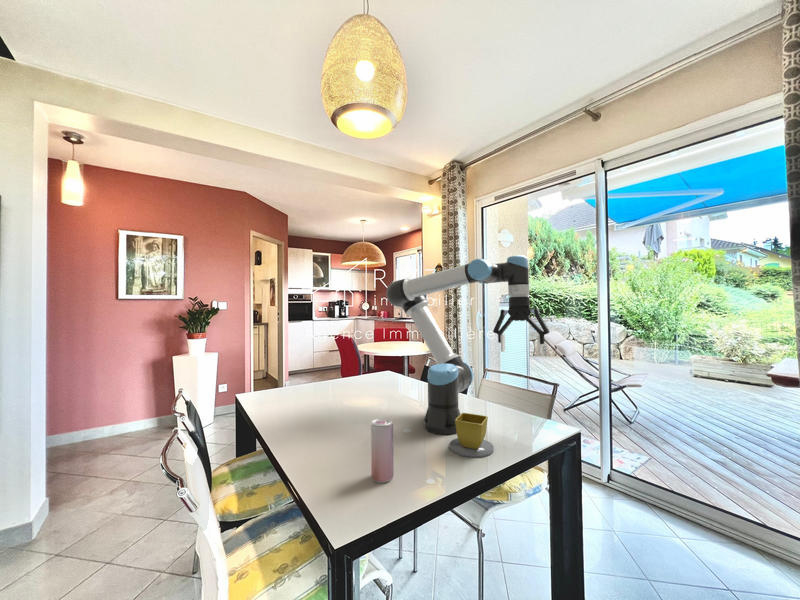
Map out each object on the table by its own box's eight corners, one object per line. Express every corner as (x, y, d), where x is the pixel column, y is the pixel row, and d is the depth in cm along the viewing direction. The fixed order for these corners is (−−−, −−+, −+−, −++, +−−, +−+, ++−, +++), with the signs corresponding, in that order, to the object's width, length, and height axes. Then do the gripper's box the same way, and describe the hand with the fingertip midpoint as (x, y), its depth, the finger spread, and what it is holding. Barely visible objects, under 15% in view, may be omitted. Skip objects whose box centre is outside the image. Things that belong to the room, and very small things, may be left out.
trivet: (442, 450, 103) (442, 448, 103) (460, 436, 115) (460, 434, 115) (485, 461, 96) (485, 459, 96) (499, 445, 107) (499, 442, 107)
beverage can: (371, 473, 89) (371, 418, 90) (392, 471, 90) (392, 417, 90) (371, 484, 84) (371, 426, 84) (394, 483, 84) (393, 425, 85)
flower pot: (488, 443, 107) (488, 415, 107) (482, 453, 99) (482, 424, 99) (462, 438, 111) (462, 412, 111) (454, 448, 103) (454, 419, 103)
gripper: (483, 297, 128) (485, 351, 127) (552, 294, 113) (554, 355, 112) (490, 298, 134) (492, 349, 133) (556, 295, 119) (558, 352, 118)
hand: (520, 352), depth 123 cm, fingers open, 13 cm apart
